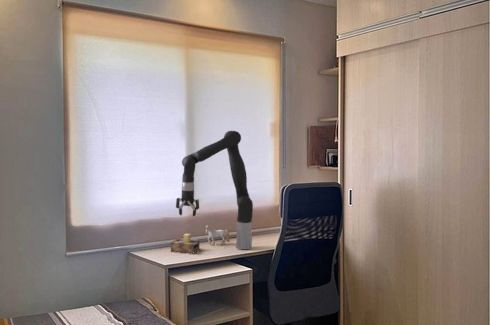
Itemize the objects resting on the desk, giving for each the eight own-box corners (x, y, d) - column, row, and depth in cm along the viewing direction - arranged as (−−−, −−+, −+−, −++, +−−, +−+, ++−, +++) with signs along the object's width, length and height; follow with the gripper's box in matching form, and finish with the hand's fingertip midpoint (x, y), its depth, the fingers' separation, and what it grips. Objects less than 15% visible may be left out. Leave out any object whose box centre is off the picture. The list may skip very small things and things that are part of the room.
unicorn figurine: (198, 245, 320) (199, 224, 319) (225, 242, 330) (226, 222, 329) (203, 247, 314) (203, 226, 313) (230, 244, 324) (231, 224, 323)
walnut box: (199, 249, 310) (199, 239, 310) (192, 254, 299) (192, 244, 298) (178, 247, 314) (178, 237, 313) (170, 251, 302) (170, 242, 302)
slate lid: (198, 242, 308) (198, 233, 307) (193, 246, 300) (193, 236, 300) (180, 241, 311) (180, 232, 311) (175, 244, 303) (175, 235, 303)
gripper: (201, 189, 304) (200, 215, 306) (179, 187, 308) (178, 213, 309) (196, 191, 297) (196, 217, 298) (174, 189, 301) (174, 215, 302)
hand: (187, 215), depth 304 cm, fingers open, 8 cm apart
